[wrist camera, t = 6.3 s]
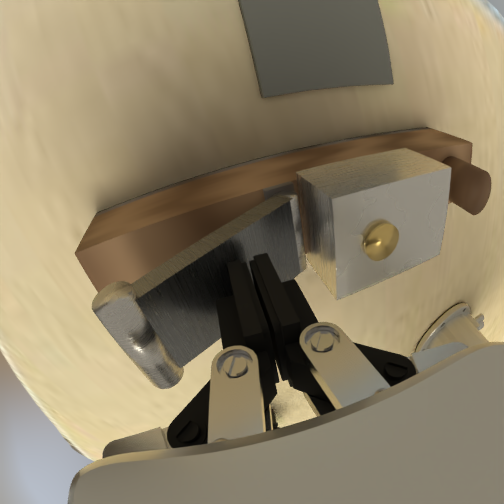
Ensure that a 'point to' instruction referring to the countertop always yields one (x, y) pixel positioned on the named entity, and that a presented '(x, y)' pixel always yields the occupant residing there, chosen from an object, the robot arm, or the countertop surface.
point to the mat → (316, 44)
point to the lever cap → (372, 216)
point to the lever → (197, 289)
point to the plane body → (247, 200)
